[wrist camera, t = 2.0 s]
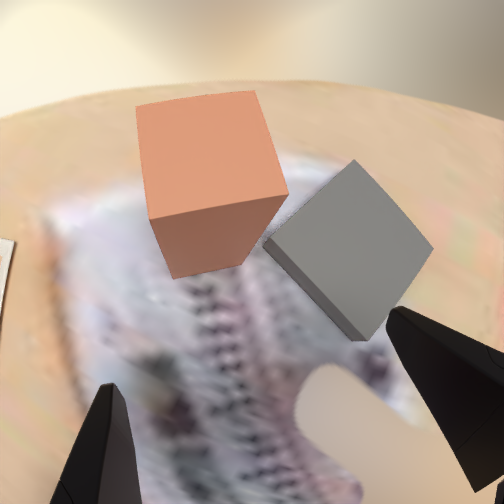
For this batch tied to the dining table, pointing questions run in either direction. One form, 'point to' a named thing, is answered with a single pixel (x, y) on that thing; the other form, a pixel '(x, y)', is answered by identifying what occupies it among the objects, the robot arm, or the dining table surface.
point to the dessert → (4, 264)
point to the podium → (351, 251)
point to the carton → (208, 178)
